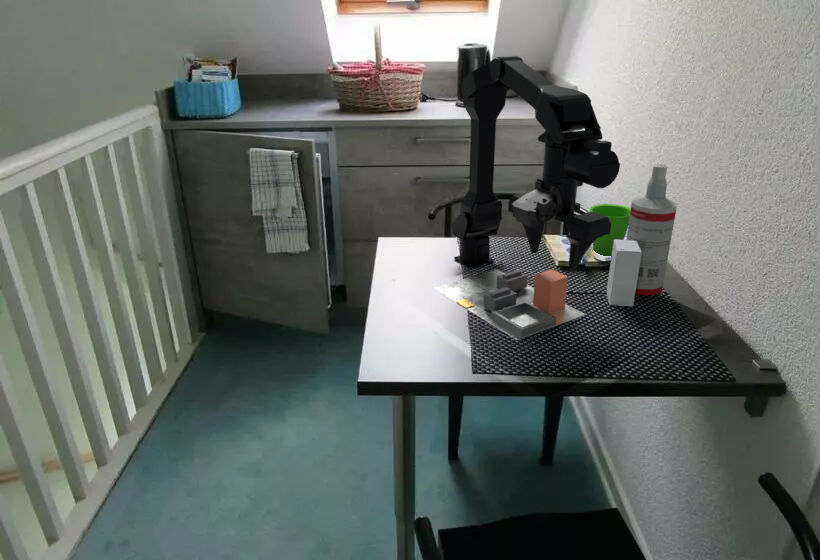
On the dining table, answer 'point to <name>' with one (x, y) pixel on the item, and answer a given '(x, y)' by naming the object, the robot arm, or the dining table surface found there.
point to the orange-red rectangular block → (550, 290)
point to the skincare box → (623, 272)
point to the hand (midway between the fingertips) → (552, 260)
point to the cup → (618, 226)
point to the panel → (509, 319)
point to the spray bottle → (652, 232)
